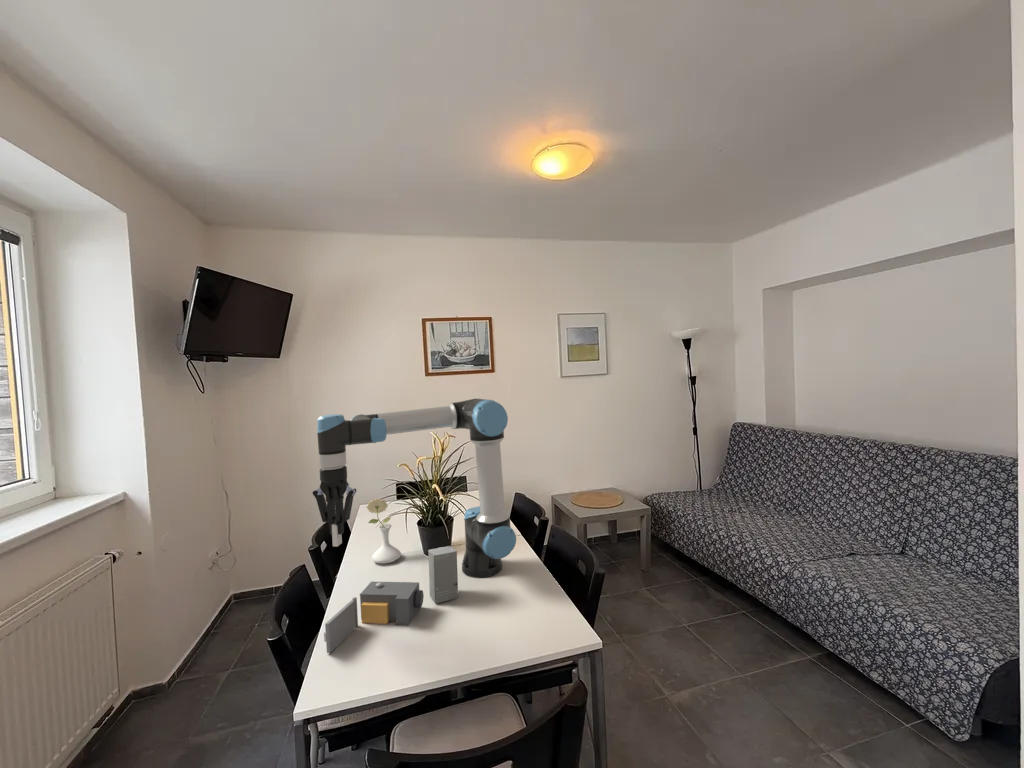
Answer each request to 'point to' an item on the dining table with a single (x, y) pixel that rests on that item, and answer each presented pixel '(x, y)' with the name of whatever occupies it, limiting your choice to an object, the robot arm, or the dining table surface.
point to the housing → (389, 602)
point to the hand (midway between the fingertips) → (337, 544)
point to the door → (339, 626)
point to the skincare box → (443, 574)
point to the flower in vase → (383, 534)
